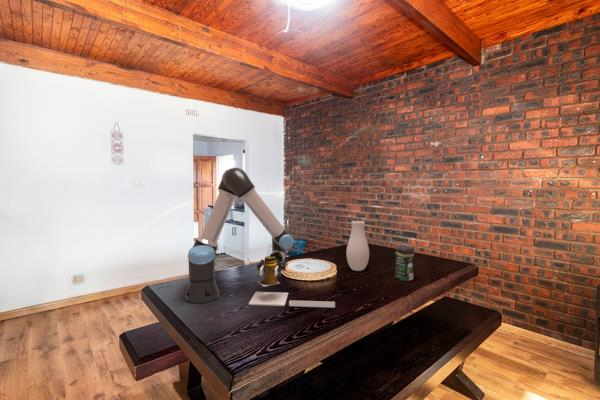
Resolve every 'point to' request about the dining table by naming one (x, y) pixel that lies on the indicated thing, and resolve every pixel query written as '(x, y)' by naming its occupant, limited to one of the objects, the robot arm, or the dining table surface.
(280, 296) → the mat
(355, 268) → the vase
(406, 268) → the coffee jar
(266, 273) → the condiment
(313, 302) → the bar
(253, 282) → the dining table surface
